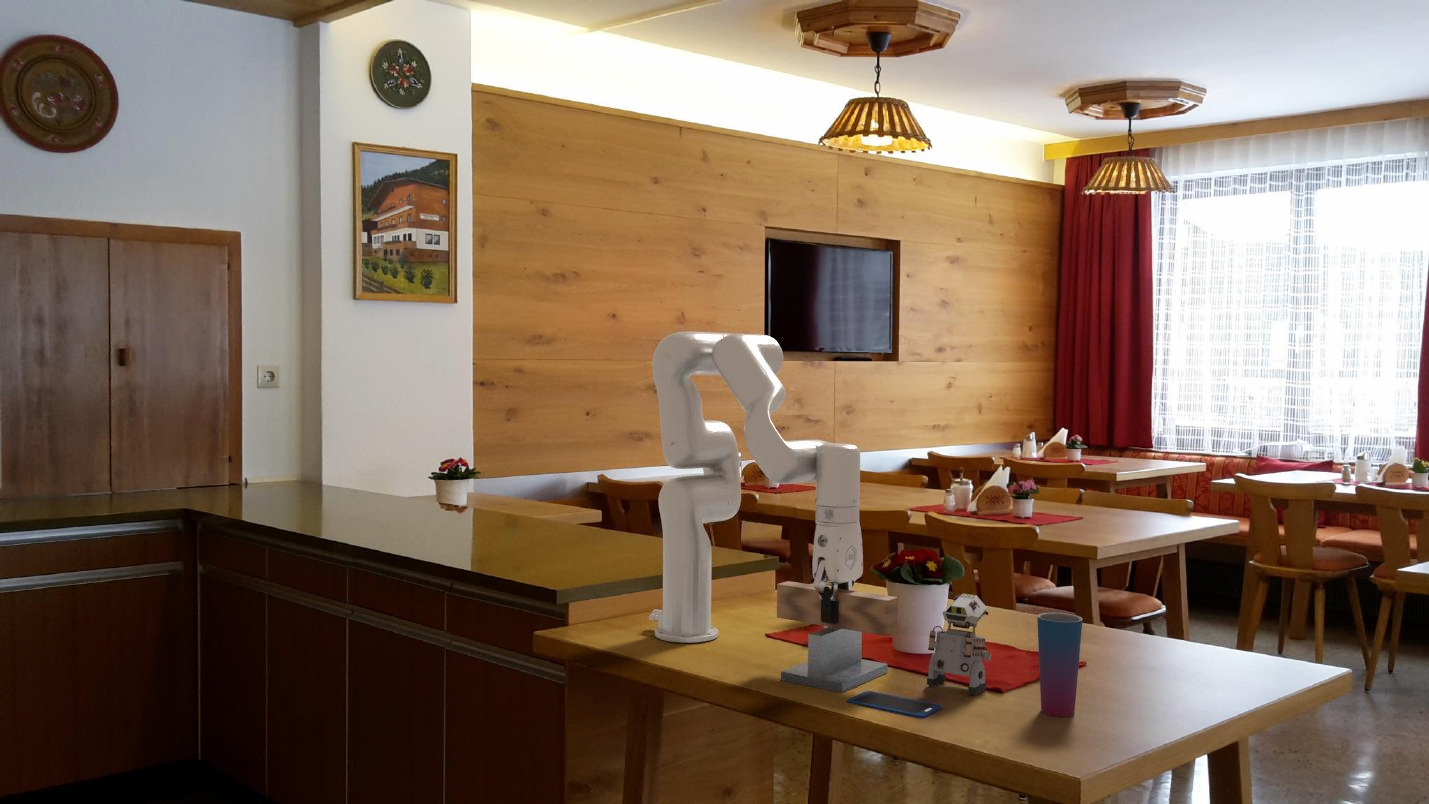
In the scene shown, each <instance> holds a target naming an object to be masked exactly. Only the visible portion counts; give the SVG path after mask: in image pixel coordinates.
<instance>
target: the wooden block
mask: <svg viewBox="0 0 1429 804" xmlns="http://www.w3.org/2000/svg"><path fill="white" fill-rule="evenodd" d="M828 587H829V586H828ZM829 588H830V590H831V587H829ZM776 590H777V591H776V592H777V593H776V618H778V619H783V620H788V621H794V622H801V623H806V624H813V625H818V626H829V627H835V628H841V629H847V630H853V631H859V632H862V633H865V634H866V633H867V634H871V635H876V636H877V635H878V636H883V637H890V636H892V635H894V634H895V635H896V634H897V633H898V612H899V611H898V608H899V607H898V605H899V603H898V602H899V597H898V596H891V595H885V594H878V593H871V592H864V591H863V592H862V591H858V590H852V591H851V590H845V589H838V588H837V598H836V600H837V601H839V609H838V623H837V624H831V623H825V622H821V599H820V598H819V595H820V594H819V592H818V591H817V590H816V589H815V588H814V587H813V584H810V583H803V582H798V581H797V582H796V581H791V580H787V581H783V582H779V583H776Z"/></svg>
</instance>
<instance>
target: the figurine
mask: <svg viewBox="0 0 1429 804" xmlns="http://www.w3.org/2000/svg"><path fill="white" fill-rule="evenodd" d="M942 615H943V620H945V621H947V624H948V626H947V629H946V630H943V628H942V627H941V626H940V625H936V626H934V627H933V629H932V630H930V632H929V639H928V647H927V650H928V651H933V653H932V655H931V656H930V659H929V665H928V671H927V673H928V674H927V675H928V676H927V678H926V686H928V687H931V688H935V687H937V686H938V685H943V684H944V683H945V681H946V674H945V673H947V674H951V675H957V676H965V677H969V686H968V687H967V693H968V694H969V695H971V696H974V697H975V696H977V695H979V693H981V694H982V693H983V692H985V691H986V690H987V682H986V670H985V665H984V662H982V661H983V659H984V661H985V662H991V661H992V658H991V657H992V656H993V653H989V652H988V647H987V646H986V644H985V643H986V638H985V637H982V636H978V635H976V628H977V626H978V622H980V620H981V619H982V618H983V617H984V616H985V615H986V616H988V615H989V611H987V606H986V605H985V603H984V602H983V601H982V600H981V599H980V598H979V597H978V595H976V594H969V593H962V594H957V595H956V596H954V597H953V601H952V602H951V603H950V604H949V605H948V606H947V607H946V608H945V609H944V610H943V611H942ZM951 627H953V628H951ZM971 627H972V631H971V630H970V631H969V629H970V628H971ZM936 628H939V629H940V630H937V631H935V629H936ZM956 628H960V629H956ZM963 629H967V630H963Z"/></svg>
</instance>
